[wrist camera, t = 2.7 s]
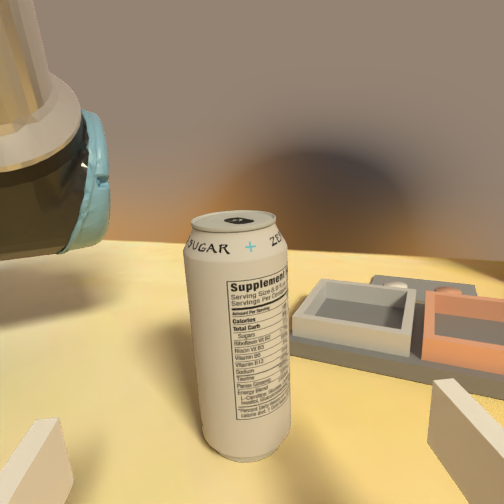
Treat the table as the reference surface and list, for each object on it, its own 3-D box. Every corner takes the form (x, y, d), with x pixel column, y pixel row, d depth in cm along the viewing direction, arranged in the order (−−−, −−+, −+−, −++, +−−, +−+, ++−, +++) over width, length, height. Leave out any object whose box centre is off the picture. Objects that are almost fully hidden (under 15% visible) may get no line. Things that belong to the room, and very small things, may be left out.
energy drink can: (253, 392, 29) (242, 205, 25) (310, 435, 25) (309, 216, 20) (187, 430, 26) (161, 220, 21) (238, 488, 21) (219, 237, 17)
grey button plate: (366, 296, 45) (366, 292, 45) (374, 277, 51) (375, 273, 51) (479, 311, 40) (480, 306, 40) (474, 287, 46) (474, 283, 46)
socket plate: (284, 353, 34) (283, 320, 33) (319, 302, 45) (319, 275, 44) (589, 418, 25) (601, 373, 24) (544, 334, 35) (551, 300, 34)
